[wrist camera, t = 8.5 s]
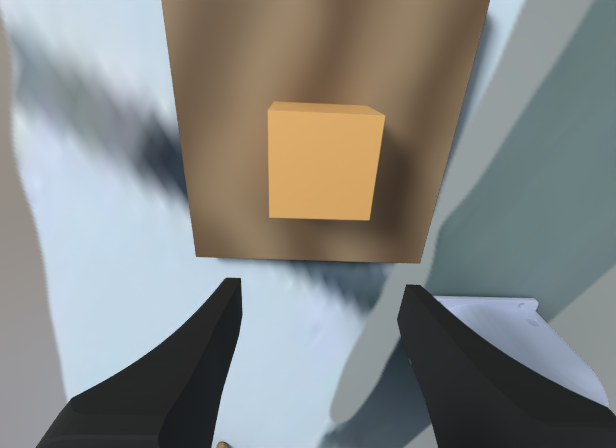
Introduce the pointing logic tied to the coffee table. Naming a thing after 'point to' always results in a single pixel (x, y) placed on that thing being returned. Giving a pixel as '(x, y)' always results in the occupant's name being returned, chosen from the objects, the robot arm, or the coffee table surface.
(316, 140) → the tan rounded cube
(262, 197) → the walnut board
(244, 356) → the coffee table surface
